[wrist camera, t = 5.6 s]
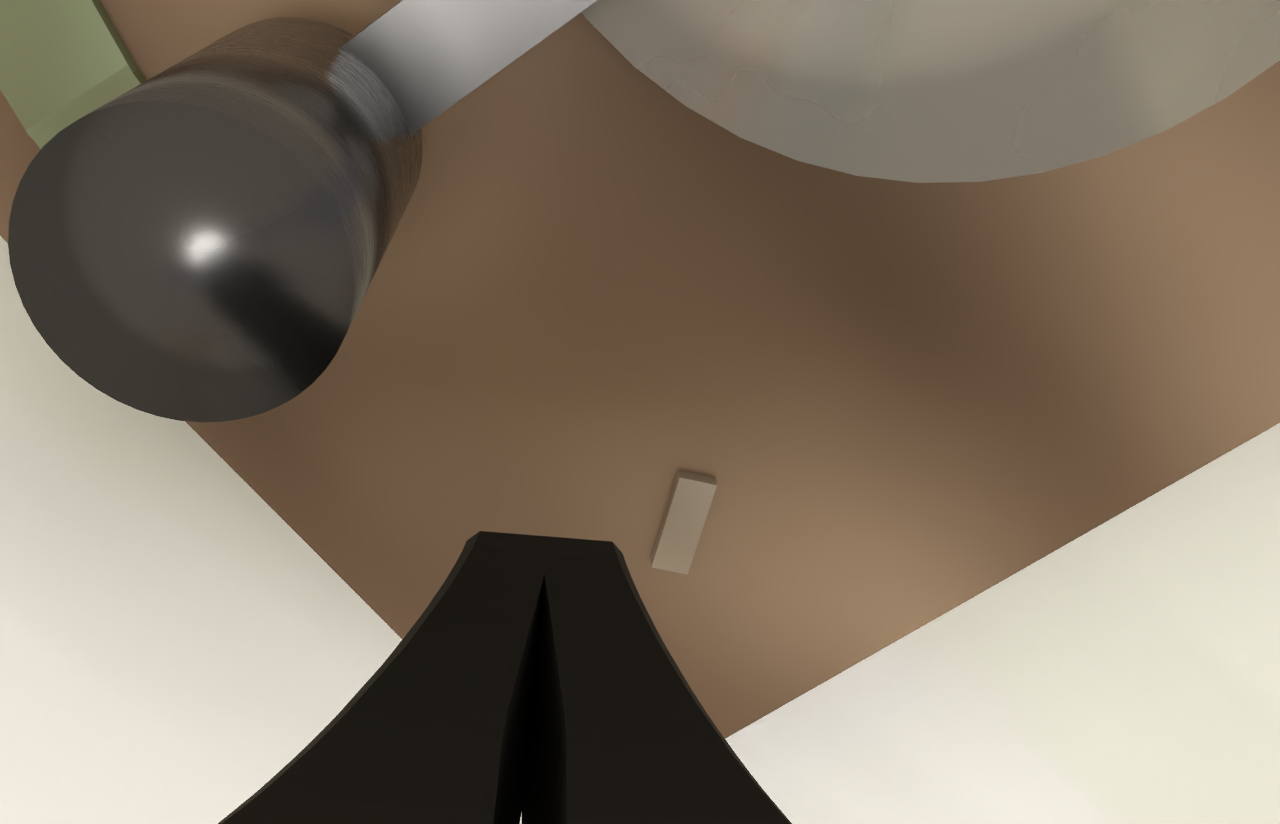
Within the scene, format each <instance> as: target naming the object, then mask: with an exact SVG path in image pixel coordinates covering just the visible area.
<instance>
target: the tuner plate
mask: <svg viewBox="0 0 1280 824" xmlns="http://www.w3.org/2000/svg"><path fill="white" fill-rule="evenodd" d="M399 1H401V0H0V236H1V237H2V238H3V239H4V240H5V241H6V242H7V243H8V233H9V219H10V213H11V208H12V203H13V199H14V197H15V194H16V191H17V188H18V185H19V183H20V180H21V179H22V177H23V175H24V173H25V171H26V170H27V168H28V166H29V164H30V163H31V161H32V160H33V159H34V157H35V156H36V155H37V154H38V152H39V151H40V150H41V149H42V147H43V146H44V145H45V144H46V143H48V142H49V141H50V140H51V139H52V138H53V137H54V136H55V135H56V134H57V133H58V132H60V131H61V130H63V129H64V128H66V127H67V126H69V125H70V124H72V123H73V122H75V121H76V120H78V119H80V118H82V117H83V116H85V115H87V114H89V113H90V112H92V111H94V110H96V109H97V108H99V107H101V106H103V105H104V104H106V103H108V102H110V101H111V100H113V99H115V98H117V97H118V96H120V95H122V94H124V93H126V92H127V91H129V90H131V89H133V88H134V87H136V86H138V85H140V84H141V83H143V82H145V81H147V80H148V79H150V78H152V77H154V76H155V75H157V74H159V73H161V72H162V71H164V70H166V69H168V68H169V67H171V66H173V65H175V64H177V63H178V62H180V61H182V60H184V59H185V58H187V57H189V56H191V55H192V54H194V53H196V52H198V51H199V50H201V49H203V48H205V47H206V46H208V45H210V44H212V43H213V42H215V41H217V40H219V39H220V38H222V37H224V36H226V35H228V34H229V33H231V32H233V31H235V30H237V29H239V28H241V27H243V26H245V25H248V24H251V23H254V22H257V21H261V20H265V19H272V18H278V17H298V18H306V19H313V20H317V21H321V22H325V23H328V24H331V25H333V26H336V27H338V28H341V29H344V30H345V31H347V32H349V33H351V34H353V35H356V34H357V33H358V32H360V31H361V30H362V29H364V28H365V27H366V26H367V25H369V24H370V23H371V22H373V21H374V20H375V19H377V18H378V17H379V16H381V15H382V14H383V13H385V12H386V11H387V10H389V9H390V8H391V7H393V6H394V5H395V4H397V3H398V2H399ZM421 132H422V144H423V152H422V165H421V170H420V176H419V179H418V182H417V185H416V188H415V191H414V193H413V195H412V197H411V199H410V201H409V204H408V206H407V208H406V210H405V212H404V214H403V216H402V218H401V220H400V222H399V224H398V227H397V229H396V231H395V233H394V235H393V237H392V239H391V241H390V243H389V245H388V248H387V250H386V252H385V254H384V256H383V258H382V260H381V262H380V264H379V266H378V269H377V271H376V273H375V275H374V277H373V279H372V281H371V283H370V285H369V287H368V290H367V292H366V294H365V296H364V298H363V300H362V302H361V304H360V306H359V308H358V310H357V313H356V315H355V317H354V319H353V321H352V323H351V325H350V327H349V329H348V331H347V334H346V336H345V338H344V340H343V342H342V344H341V346H340V348H339V350H338V352H337V354H336V355H335V357H334V358H333V360H332V361H331V363H330V364H329V365H328V367H327V368H326V370H325V371H324V372H323V373H322V374H321V375H320V376H319V377H318V378H317V379H316V380H315V381H314V383H313V384H312V385H310V386H309V387H308V388H306V389H305V390H304V391H303V392H301V393H300V394H299V395H298V396H296V397H295V398H293V399H291V400H289V401H288V402H286V403H284V404H283V405H281V406H279V407H276V408H274V409H272V410H269V411H267V412H264V413H262V414H259V415H255V416H251V417H248V418H244V419H238V420H232V421H225V422H191V421H186V422H187V423H188V424H189V426H190V427H191V428H192V429H193V430H194V431H195V432H196V433H197V434H198V435H199V436H200V437H201V438H202V439H203V440H204V441H205V442H206V443H207V444H208V445H209V446H210V447H211V448H212V449H213V450H214V451H215V452H216V453H217V454H218V455H219V456H220V457H221V458H222V459H223V460H224V461H225V462H226V463H227V464H228V465H229V466H230V467H231V468H232V469H233V470H234V471H235V472H236V473H237V474H238V475H239V476H240V477H241V478H242V479H243V480H244V481H245V482H246V483H247V484H248V485H249V486H250V487H251V488H252V489H253V490H254V491H255V492H256V493H257V494H258V495H259V496H260V497H261V498H262V499H263V500H264V501H265V502H266V503H267V504H268V505H269V506H270V507H271V508H272V509H273V510H274V511H275V512H276V513H277V514H278V515H279V516H280V517H281V518H282V519H283V520H284V521H285V522H286V523H287V524H288V525H289V526H290V527H291V528H292V529H293V530H294V531H295V532H296V533H297V534H298V535H299V536H300V537H301V538H302V539H303V540H304V541H305V542H306V543H307V544H308V545H309V546H310V547H311V548H312V549H313V550H314V551H315V552H316V553H317V554H318V555H319V556H320V557H321V558H322V559H323V560H324V561H325V562H326V563H327V564H328V565H329V566H330V567H331V568H332V569H333V570H334V571H335V572H336V573H337V574H338V575H339V576H340V577H341V578H342V579H343V580H344V581H345V582H346V583H347V584H348V585H349V586H350V587H351V588H352V589H353V590H354V591H355V592H356V593H357V594H358V595H359V596H360V597H361V598H362V599H363V600H364V601H365V602H366V603H367V604H368V605H369V606H370V607H371V608H372V609H373V610H374V611H375V612H376V613H377V614H378V615H379V616H380V617H381V618H382V619H383V620H384V621H385V622H386V623H387V624H388V625H389V626H390V627H391V628H392V629H393V630H394V631H395V632H396V633H397V634H398V635H399V636H400V637H401V638H402V639H403V638H404V637H405V636H406V634H407V633H408V632H409V630H410V629H411V628H412V626H413V625H414V624H415V623H416V621H417V620H418V619H419V617H420V616H421V615H422V613H423V612H424V611H425V609H426V608H427V607H428V605H429V604H430V602H431V601H432V599H433V598H434V596H435V595H436V593H437V592H438V590H439V589H440V588H441V586H442V585H443V583H444V581H445V580H446V578H447V577H448V575H449V574H450V572H451V570H452V569H453V567H454V565H455V563H456V561H457V560H458V558H459V556H460V554H461V552H462V550H463V548H464V546H465V543H466V541H467V540H468V539H470V538H471V537H472V536H474V535H475V534H476V533H478V532H479V531H488V532H500V533H513V534H525V535H537V536H550V537H562V538H575V539H587V540H599V541H612V542H613V543H614V544H615V545H616V546H617V547H618V549H619V550H620V551H621V552H622V553H623V556H624V559H625V562H626V565H627V567H628V570H629V572H630V575H631V577H632V580H633V582H634V584H635V586H636V589H637V591H638V593H639V595H640V597H641V599H642V602H643V604H644V606H645V608H646V610H647V612H648V613H649V615H650V617H651V619H652V621H653V623H654V625H655V627H656V629H657V631H658V633H659V635H660V636H661V638H662V640H663V642H664V644H665V646H666V647H667V649H668V651H669V652H670V654H671V656H672V657H673V659H674V661H675V662H676V664H677V666H678V668H679V669H680V671H681V673H682V674H683V676H684V678H685V679H686V681H687V683H688V684H689V686H690V688H691V689H692V691H693V693H694V694H695V696H696V697H697V699H698V700H699V702H700V703H701V705H702V706H703V708H704V709H705V711H706V713H707V714H708V716H709V717H710V718H711V720H712V721H713V723H714V724H715V726H716V727H717V728H718V730H719V731H720V733H721V734H722V736H723V737H724V738H727V737H729V736H730V735H732V734H734V733H736V732H737V731H739V730H741V729H743V728H744V727H746V726H748V725H750V724H751V723H753V722H755V721H757V720H758V719H760V718H762V717H764V716H765V715H767V714H769V713H771V712H772V711H774V710H776V709H778V708H779V707H781V706H783V705H785V704H786V703H788V702H790V701H792V700H794V699H795V698H797V697H799V696H801V695H802V694H804V693H806V692H808V691H809V690H811V689H813V688H815V687H816V686H818V685H820V684H822V683H823V682H825V681H827V680H829V679H830V678H832V677H834V676H836V675H837V674H839V673H841V672H843V671H844V670H846V669H848V668H850V667H851V666H853V665H855V664H857V663H858V662H860V661H862V660H864V659H865V658H867V657H869V656H871V655H873V654H874V653H876V652H878V651H880V650H881V649H883V648H885V647H887V646H888V645H890V644H892V643H894V642H895V641H897V640H899V639H901V638H902V637H904V636H906V635H908V634H909V633H911V632H913V631H915V630H916V629H918V628H920V627H922V626H923V625H925V624H927V623H929V622H930V621H932V620H934V619H936V618H937V617H939V616H941V615H943V614H945V613H946V612H948V611H950V610H952V609H953V608H955V607H957V606H959V605H960V604H962V603H964V602H966V601H967V600H969V599H971V598H973V597H974V596H976V595H978V594H980V593H981V592H983V591H985V590H987V589H988V588H990V587H992V586H994V585H995V584H997V583H999V582H1001V581H1002V580H1004V579H1006V578H1008V577H1009V576H1011V575H1013V574H1015V573H1016V572H1018V571H1020V570H1022V569H1024V568H1025V567H1027V566H1029V565H1031V564H1032V563H1034V562H1036V561H1038V560H1039V559H1041V558H1043V557H1045V556H1046V555H1048V554H1050V553H1052V552H1053V551H1055V550H1057V549H1059V548H1060V547H1062V546H1064V545H1066V544H1067V543H1069V542H1071V541H1073V540H1074V539H1076V538H1078V537H1080V536H1081V535H1083V534H1085V533H1087V532H1088V531H1090V530H1092V529H1094V528H1095V527H1097V526H1099V525H1101V524H1103V523H1104V522H1106V521H1108V520H1110V519H1111V518H1113V517H1115V516H1117V515H1118V514H1120V513H1122V512H1124V511H1125V510H1127V509H1129V508H1131V507H1132V506H1134V505H1136V504H1138V503H1139V502H1141V501H1143V500H1145V499H1146V498H1148V497H1150V496H1152V495H1153V494H1155V493H1157V492H1159V491H1160V490H1162V489H1164V488H1166V487H1167V486H1169V485H1171V484H1173V483H1175V482H1176V481H1178V480H1180V479H1182V478H1183V477H1185V476H1187V475H1189V474H1190V473H1192V472H1194V471H1196V470H1197V469H1199V468H1201V467H1203V466H1204V465H1206V464H1208V463H1210V462H1211V461H1213V460H1215V459H1217V458H1218V457H1220V456H1222V455H1224V454H1225V453H1227V452H1229V451H1231V450H1232V449H1234V448H1236V447H1238V446H1239V445H1241V444H1243V443H1245V442H1246V441H1248V440H1250V439H1252V438H1254V437H1255V436H1257V435H1259V434H1261V433H1262V432H1264V431H1266V430H1268V429H1269V428H1271V427H1273V426H1275V425H1276V424H1278V423H1280V61H1278V62H1277V63H1275V64H1274V65H1272V66H1271V67H1270V68H1268V69H1267V70H1265V71H1264V72H1262V73H1261V74H1260V75H1258V76H1257V77H1255V78H1254V79H1252V80H1251V81H1249V82H1248V83H1247V84H1245V85H1244V86H1242V87H1241V88H1239V89H1238V90H1236V91H1235V92H1234V93H1232V94H1231V95H1229V96H1228V97H1226V98H1225V99H1223V100H1221V101H1219V102H1217V103H1216V104H1214V105H1212V106H1210V107H1208V108H1206V109H1205V110H1203V111H1201V112H1199V113H1197V114H1195V115H1194V116H1192V117H1190V118H1188V119H1186V120H1184V121H1183V122H1181V123H1179V124H1177V125H1175V126H1173V127H1172V128H1170V129H1168V130H1166V131H1164V132H1161V133H1159V134H1156V135H1154V136H1151V137H1149V138H1147V139H1144V140H1142V141H1139V142H1137V143H1134V144H1132V145H1129V146H1127V147H1124V148H1122V149H1119V150H1117V151H1115V152H1112V153H1110V154H1107V155H1105V156H1101V157H1098V158H1094V159H1090V160H1087V161H1083V162H1080V163H1076V164H1072V165H1069V166H1065V167H1061V168H1058V169H1054V170H1050V171H1047V172H1043V173H1037V174H1030V175H1023V176H1017V177H1010V178H1003V179H996V180H989V181H982V182H942V183H915V182H906V181H897V180H888V179H880V178H871V177H862V176H856V175H852V174H848V173H844V172H840V171H836V170H832V169H828V168H824V167H820V166H816V165H812V164H808V163H804V162H800V161H797V160H795V159H792V158H790V157H787V156H785V155H782V154H780V153H777V152H775V151H772V150H770V149H767V148H765V147H762V146H760V145H757V144H755V143H752V142H750V141H748V140H745V139H743V138H740V137H738V136H737V135H735V134H733V133H731V132H730V131H728V130H726V129H725V128H723V127H721V126H719V125H718V124H716V123H714V122H712V121H711V120H709V119H707V118H705V117H704V116H702V115H700V114H698V113H697V112H695V111H693V110H691V109H690V108H688V107H686V106H685V105H683V104H682V103H681V102H679V101H678V100H677V99H676V98H674V97H673V96H672V95H670V94H669V93H668V92H666V91H665V90H664V89H663V88H661V87H660V86H659V85H657V84H656V83H655V82H653V81H652V80H651V79H650V78H648V77H647V76H646V75H644V74H643V73H642V72H640V71H639V70H638V69H636V68H635V67H634V66H633V65H632V64H631V63H630V62H629V61H628V60H627V59H626V58H625V57H624V56H623V55H622V54H621V53H620V52H619V51H618V50H617V49H616V48H615V47H614V46H613V45H612V44H611V43H610V42H609V41H608V40H607V39H606V38H605V37H604V36H603V35H602V34H601V33H600V32H599V31H598V30H597V29H596V28H595V27H594V26H593V25H592V24H591V23H590V22H589V21H588V20H587V19H586V18H585V16H584V15H583V14H582V12H581V13H579V14H578V15H576V16H575V17H574V18H572V19H571V20H570V21H568V22H567V23H565V24H564V25H563V26H561V27H560V28H558V29H557V30H556V31H554V32H553V33H552V34H550V35H549V36H547V37H546V38H545V39H543V40H542V41H541V42H539V43H538V44H536V45H535V46H534V47H532V48H531V49H529V50H528V51H527V52H525V53H524V54H523V55H521V56H520V57H518V58H517V59H516V60H514V61H513V62H512V63H510V64H509V65H507V66H506V67H505V68H503V69H502V70H500V71H499V72H498V73H496V74H495V75H494V76H492V77H491V78H489V79H488V80H487V81H485V82H484V83H483V84H481V85H480V86H478V87H477V88H476V89H474V90H473V91H471V92H470V93H469V94H467V95H466V96H465V97H463V98H462V99H460V100H459V101H458V102H456V103H455V104H454V105H452V106H451V107H449V108H448V109H447V110H445V111H444V112H442V113H441V114H440V115H438V116H437V117H436V118H434V119H433V120H431V121H430V122H429V123H427V124H426V125H425V126H423V127H422V128H421Z"/></svg>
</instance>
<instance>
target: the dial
mask: <svg viewBox="0 0 1280 824" xmlns="http://www.w3.org/2000/svg"><path fill="white" fill-rule="evenodd" d="M581 12H582V14H583V15H584V16H585V18H586V19H587V20H588V21H589V22H590V23H591V24H592V25H593V26H594V27H595V28H596V29H597V30H598V31H599V32H600V33H601V34H602V35H603V36H604V37H605V38H606V39H607V40H608V41H609V42H610V43H611V44H612V45H613V46H614V47H615V48H616V49H617V50H618V51H619V52H620V53H621V54H622V55H623V56H624V57H625V58H626V59H627V60H628V61H629V62H630V63H631V64H632V65H633V66H634V67H635V68H636V69H638V70H639V71H640V72H642V73H643V74H644V75H646V76H647V77H648V78H650V79H651V80H652V81H653V82H655V83H656V84H657V85H659V86H660V87H661V88H663V89H664V90H665V91H666V92H668V93H669V94H670V95H672V96H673V97H674V98H676V99H677V100H678V101H679V102H681V103H682V104H683V105H685V106H686V107H688V108H690V109H691V110H693V111H695V112H697V113H698V114H700V115H702V116H704V117H705V118H707V119H709V120H711V121H712V122H714V123H716V124H718V125H719V126H721V127H723V128H725V129H726V130H728V131H730V132H731V133H733V134H735V135H737V136H738V137H740V138H743V139H745V140H748V141H750V142H752V143H755V144H757V145H760V146H762V147H765V148H767V149H770V150H772V151H775V152H777V153H780V154H782V155H785V156H787V157H790V158H792V159H795V160H797V161H800V162H804V163H808V164H812V165H816V166H820V167H824V168H828V169H832V170H836V171H840V172H844V173H848V174H852V175H856V176H862V177H871V178H880V179H888V180H897V181H906V182H915V183H942V182H982V181H989V180H996V179H1003V178H1010V177H1017V176H1023V175H1030V174H1037V173H1043V172H1047V171H1050V170H1054V169H1058V168H1061V167H1065V166H1069V165H1072V164H1076V163H1080V162H1083V161H1087V160H1090V159H1094V158H1098V157H1101V156H1105V155H1107V154H1110V153H1112V152H1115V151H1117V150H1119V149H1122V148H1124V147H1127V146H1129V145H1132V144H1134V143H1137V142H1139V141H1142V140H1144V139H1147V138H1149V137H1151V136H1154V135H1156V134H1159V133H1161V132H1164V131H1166V130H1168V129H1170V128H1172V127H1173V126H1175V125H1177V124H1179V123H1181V122H1183V121H1184V120H1186V119H1188V118H1190V117H1192V116H1194V115H1195V114H1197V113H1199V112H1201V111H1203V110H1205V109H1206V108H1208V107H1210V106H1212V105H1214V104H1216V103H1217V102H1219V101H1221V100H1223V99H1225V98H1226V97H1228V96H1229V95H1231V94H1232V93H1234V92H1235V91H1236V90H1238V89H1239V88H1241V87H1242V86H1244V85H1245V84H1247V83H1248V82H1249V81H1251V80H1252V79H1254V78H1255V77H1257V76H1258V75H1260V74H1261V73H1262V72H1264V71H1265V70H1267V69H1268V68H1270V67H1271V66H1272V65H1274V64H1275V63H1277V62H1278V61H1280V0H401V1H399V2H398V3H397V4H395V5H394V6H393V7H391V8H390V9H389V10H387V11H386V12H385V13H383V14H382V15H381V16H379V17H378V18H377V19H375V20H374V21H373V22H371V23H370V24H369V25H367V26H366V27H365V28H364V29H362V30H361V31H360V32H358V33H357V34H356V35H353V34H351V33H349V32H347V31H345V30H344V29H341V28H338V27H336V26H333V25H331V24H328V23H325V22H321V21H317V20H313V19H306V18H298V17H278V18H272V19H265V20H261V21H257V22H254V23H251V24H248V25H245V26H243V27H241V28H239V29H237V30H235V31H233V32H231V33H229V34H228V35H226V36H224V37H222V38H220V39H219V40H217V41H215V42H213V43H212V44H210V45H208V46H206V47H205V48H203V49H201V50H199V51H198V52H196V53H194V54H192V55H191V56H189V57H187V58H185V59H184V60H182V61H180V62H178V63H177V64H175V65H173V66H171V67H169V68H168V69H166V70H164V71H162V72H161V73H159V74H157V75H155V76H154V77H152V78H150V79H148V80H147V81H145V82H143V83H141V84H140V85H138V86H136V87H134V88H133V89H131V90H129V91H127V92H126V93H124V94H122V95H120V96H118V97H117V98H115V99H113V100H111V101H110V102H108V103H106V104H104V105H103V106H101V107H99V108H97V109H96V110H94V111H92V112H90V113H89V114H87V115H85V116H83V117H82V118H80V119H78V120H76V121H75V122H73V123H72V124H70V125H69V126H67V127H66V128H64V129H63V130H61V131H60V132H58V133H57V134H56V135H55V136H54V137H53V138H52V139H51V140H50V141H49V142H48V143H46V144H45V145H44V146H43V147H42V149H41V150H40V151H39V152H38V154H37V155H36V156H35V157H34V159H33V160H32V161H31V163H30V164H29V166H28V168H27V170H26V171H25V173H24V175H23V177H22V179H21V180H20V183H19V185H18V188H17V191H16V194H15V197H14V199H13V203H12V208H11V213H10V219H9V233H8V246H9V256H10V265H11V269H12V273H13V277H14V281H15V285H16V288H17V290H18V293H19V295H20V298H21V300H22V303H23V306H24V307H25V309H26V311H27V313H28V315H29V317H30V319H31V320H32V322H33V324H34V326H35V327H36V329H37V330H38V332H39V333H40V334H41V336H42V337H43V339H44V340H45V342H46V343H47V344H48V345H49V346H50V348H51V349H52V350H53V351H54V352H55V353H56V354H57V356H58V357H59V358H60V359H61V360H62V361H63V362H64V363H65V364H66V365H67V366H69V367H70V368H71V369H72V370H73V371H74V372H75V373H76V374H77V375H78V376H80V377H81V378H83V379H84V380H85V381H87V382H88V383H89V384H91V385H92V386H94V387H95V388H96V389H98V390H100V391H101V392H103V393H105V394H107V395H108V396H110V397H112V398H113V399H115V400H117V401H119V402H122V403H124V404H126V405H128V406H131V407H133V408H135V409H138V410H141V411H144V412H147V413H150V414H153V415H156V416H160V417H165V418H170V419H175V420H180V421H191V422H225V421H232V420H238V419H244V418H248V417H251V416H255V415H259V414H262V413H264V412H267V411H269V410H272V409H274V408H276V407H279V406H281V405H283V404H284V403H286V402H288V401H289V400H291V399H293V398H295V397H296V396H298V395H299V394H300V393H301V392H303V391H304V390H305V389H306V388H308V387H309V386H310V385H312V384H313V383H314V381H315V380H316V379H317V378H318V377H319V376H320V375H321V374H322V373H323V372H324V371H325V370H326V368H327V367H328V365H329V364H330V363H331V361H332V360H333V358H334V357H335V355H336V354H337V352H338V350H339V348H340V346H341V344H342V342H343V340H344V338H345V336H346V334H347V331H348V329H349V327H350V325H351V323H352V321H353V319H354V317H355V315H356V313H357V310H358V308H359V306H360V304H361V302H362V300H363V298H364V296H365V294H366V292H367V290H368V287H369V285H370V283H371V281H372V279H373V277H374V275H375V273H376V271H377V269H378V266H379V264H380V262H381V260H382V258H383V256H384V254H385V252H386V250H387V248H388V245H389V243H390V241H391V239H392V237H393V235H394V233H395V231H396V229H397V227H398V224H399V222H400V220H401V218H402V216H403V214H404V212H405V210H406V208H407V206H408V204H409V201H410V199H411V197H412V195H413V193H414V191H415V188H416V185H417V182H418V179H419V176H420V170H421V165H422V152H423V144H422V132H421V128H422V127H423V126H425V125H426V124H427V123H429V122H430V121H431V120H433V119H434V118H436V117H437V116H438V115H440V114H441V113H442V112H444V111H445V110H447V109H448V108H449V107H451V106H452V105H454V104H455V103H456V102H458V101H459V100H460V99H462V98H463V97H465V96H466V95H467V94H469V93H470V92H471V91H473V90H474V89H476V88H477V87H478V86H480V85H481V84H483V83H484V82H485V81H487V80H488V79H489V78H491V77H492V76H494V75H495V74H496V73H498V72H499V71H500V70H502V69H503V68H505V67H506V66H507V65H509V64H510V63H512V62H513V61H514V60H516V59H517V58H518V57H520V56H521V55H523V54H524V53H525V52H527V51H528V50H529V49H531V48H532V47H534V46H535V45H536V44H538V43H539V42H541V41H542V40H543V39H545V38H546V37H547V36H549V35H550V34H552V33H553V32H554V31H556V30H557V29H558V28H560V27H561V26H563V25H564V24H565V23H567V22H568V21H570V20H571V19H572V18H574V17H575V16H576V15H578V14H579V13H581Z"/></svg>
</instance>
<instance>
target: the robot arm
mask: <svg viewBox="0 0 1280 824" xmlns="http://www.w3.org/2000/svg"><path fill="white" fill-rule="evenodd" d="M521 811H522V824H792V823H791V822H790V821H789V820H788V819H787V818H786V816H785V815H784V814H783V813H782V812H781V810H780V809H779V808H778V807H777V806H776V805H775V803H774V802H773V801H772V800H771V799H770V797H769V796H768V795H767V794H766V793H765V791H764V790H763V789H762V788H761V786H760V785H759V784H758V783H757V781H756V780H755V779H754V778H753V776H752V775H751V774H750V773H749V771H748V770H747V769H746V767H745V766H744V765H743V763H742V762H741V761H740V759H739V758H738V757H737V755H736V754H735V753H734V751H733V750H732V748H731V747H730V746H729V744H728V743H727V741H726V740H725V738H724V737H723V736H722V734H721V733H720V731H719V730H718V728H717V727H716V726H715V724H714V723H713V721H712V720H711V718H710V717H709V716H708V714H707V713H706V711H705V709H704V708H703V706H702V705H701V703H700V702H699V700H698V699H697V697H696V696H695V694H694V693H693V691H692V689H691V688H690V686H689V684H688V683H687V681H686V679H685V678H684V676H683V674H682V673H681V671H680V669H679V668H678V666H677V664H676V662H675V661H674V659H673V657H672V656H671V654H670V652H669V651H668V649H667V647H666V646H665V644H664V642H663V640H662V638H661V636H660V635H659V633H658V631H657V629H656V627H655V625H654V623H653V621H652V619H651V617H650V615H649V613H648V612H647V610H646V608H645V606H644V604H643V602H642V599H641V597H640V595H639V593H638V591H637V589H636V586H635V584H634V582H633V580H632V577H631V575H630V572H629V570H628V567H627V565H626V562H625V559H624V556H623V553H622V552H621V551H620V550H619V549H618V547H617V546H616V545H615V544H614V543H613V542H612V541H599V540H587V539H575V538H562V537H550V536H537V535H525V534H513V533H500V532H488V531H479V532H478V533H476V534H475V535H474V536H472V537H471V538H470V539H468V540H467V541H466V543H465V546H464V548H463V550H462V552H461V554H460V556H459V558H458V560H457V561H456V563H455V565H454V567H453V569H452V570H451V572H450V574H449V575H448V577H447V578H446V580H445V581H444V583H443V585H442V586H441V588H440V589H439V590H438V592H437V593H436V595H435V596H434V598H433V599H432V601H431V602H430V604H429V605H428V607H427V608H426V609H425V611H424V612H423V613H422V615H421V616H420V617H419V619H418V620H417V621H416V623H415V624H414V625H413V626H412V628H411V629H410V630H409V632H408V633H407V634H406V636H405V637H404V638H403V640H402V641H401V642H400V643H399V645H398V646H397V647H396V649H395V650H394V651H393V653H392V654H391V655H390V656H389V657H388V659H387V660H386V661H385V662H384V663H383V665H382V666H381V667H380V668H379V669H378V670H377V672H376V673H375V674H374V675H373V676H372V677H371V678H370V679H369V680H368V682H367V683H366V684H365V685H364V686H363V687H362V688H361V689H360V690H359V692H358V693H357V694H356V695H355V696H354V697H353V698H352V699H351V701H350V702H349V703H348V704H347V705H346V706H345V707H344V708H343V709H342V711H341V712H340V713H339V714H338V715H337V716H336V717H335V718H334V719H333V720H332V721H331V722H330V723H329V724H328V725H327V726H326V727H325V728H324V729H323V730H322V731H321V732H320V733H319V734H318V735H317V736H316V737H315V738H314V739H313V740H312V741H311V742H310V743H309V744H308V745H307V746H306V747H305V748H304V749H303V750H302V751H301V752H300V753H299V754H298V755H297V756H296V757H295V758H294V759H293V760H292V761H291V762H289V763H288V764H287V765H286V766H285V767H284V768H283V769H282V770H281V771H280V772H278V773H277V774H276V775H275V776H274V777H273V778H272V779H271V780H270V781H269V782H267V783H266V784H265V785H264V786H263V787H262V788H261V789H260V790H258V791H257V792H256V793H255V794H254V795H253V796H251V797H250V798H249V799H248V800H246V801H245V802H244V803H243V804H241V805H240V806H239V807H238V808H237V809H235V810H234V811H233V812H232V813H230V814H229V815H228V816H227V817H226V818H224V819H223V820H222V821H221V822H219V823H218V824H519V822H520V817H521Z"/></svg>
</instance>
